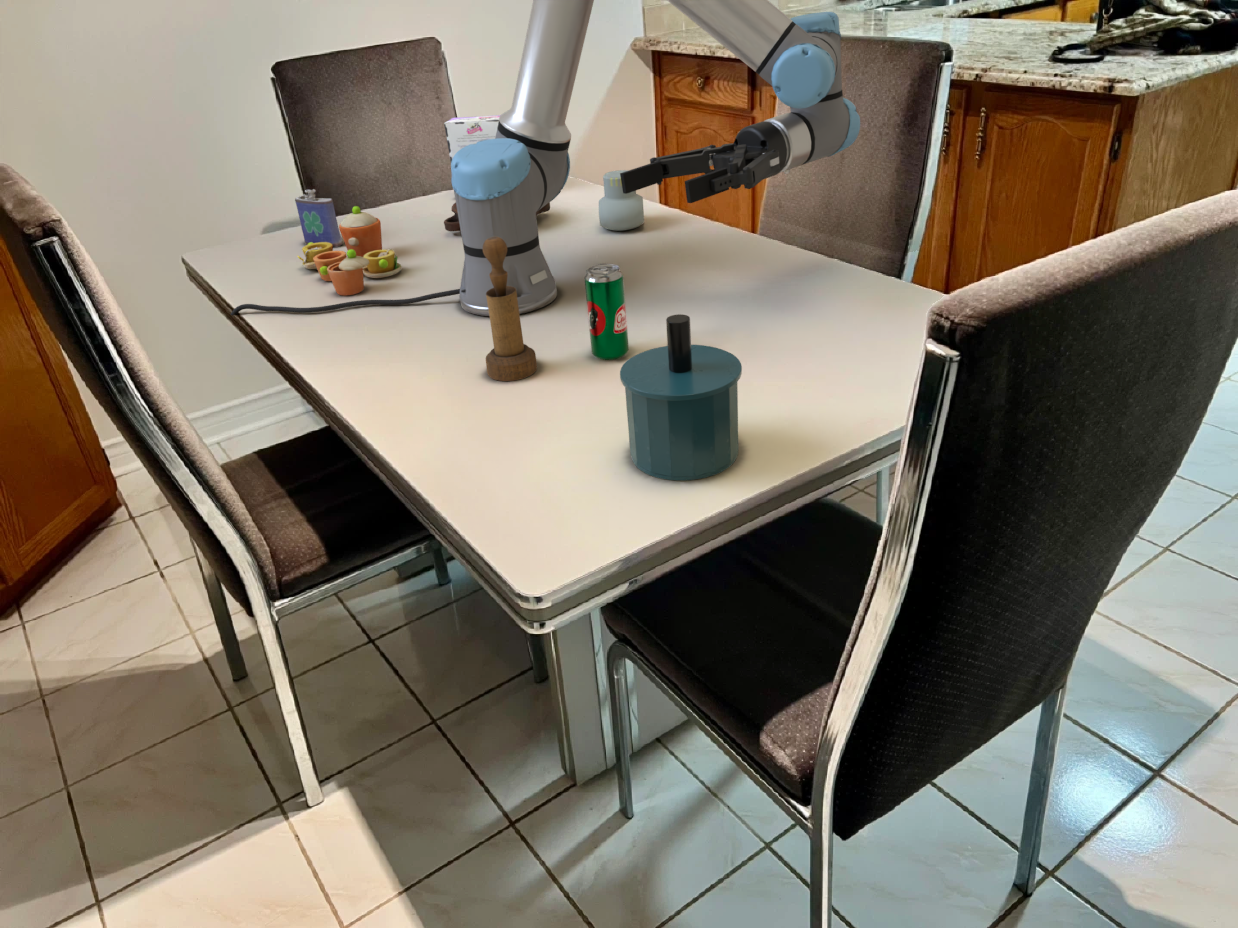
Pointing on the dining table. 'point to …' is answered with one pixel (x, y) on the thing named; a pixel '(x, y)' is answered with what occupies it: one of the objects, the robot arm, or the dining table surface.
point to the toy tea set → (353, 255)
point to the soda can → (606, 311)
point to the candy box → (469, 131)
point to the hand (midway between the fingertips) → (653, 187)
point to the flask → (318, 219)
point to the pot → (683, 435)
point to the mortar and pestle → (505, 322)
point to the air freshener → (619, 205)
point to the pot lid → (680, 367)
